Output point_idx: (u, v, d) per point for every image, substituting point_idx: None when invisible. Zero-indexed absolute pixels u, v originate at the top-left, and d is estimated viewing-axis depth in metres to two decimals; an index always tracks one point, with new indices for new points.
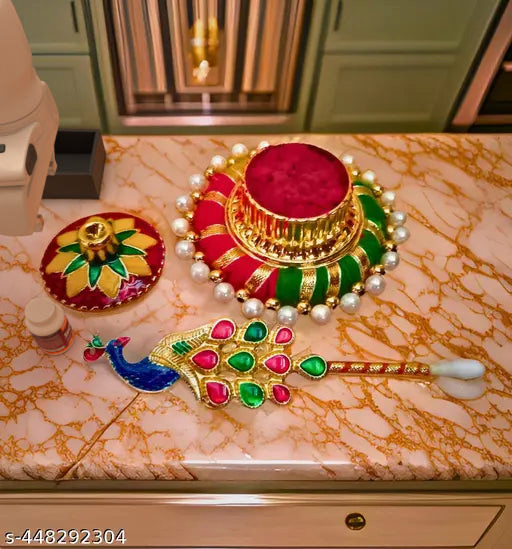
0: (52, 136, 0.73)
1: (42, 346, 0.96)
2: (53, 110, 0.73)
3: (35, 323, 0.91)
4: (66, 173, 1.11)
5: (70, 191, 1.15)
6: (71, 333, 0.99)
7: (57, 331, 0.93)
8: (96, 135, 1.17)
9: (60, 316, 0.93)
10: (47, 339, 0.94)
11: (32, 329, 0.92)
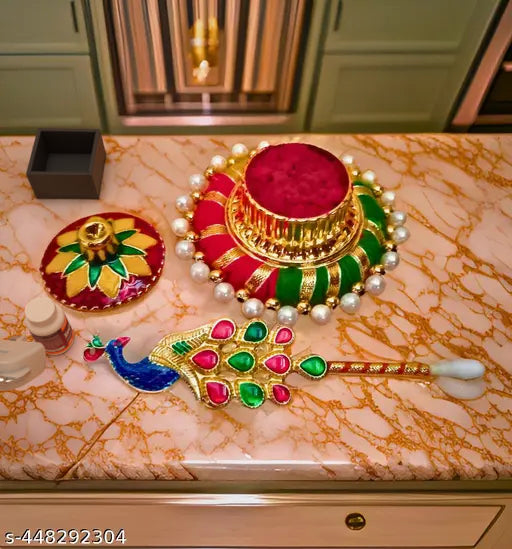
0: None
1: None
2: None
3: (35, 323, 0.91)
4: (66, 173, 1.11)
5: (70, 191, 1.15)
6: (71, 333, 0.99)
7: (57, 331, 0.93)
8: (96, 135, 1.17)
9: (60, 316, 0.93)
10: (47, 339, 0.94)
11: (32, 329, 0.92)
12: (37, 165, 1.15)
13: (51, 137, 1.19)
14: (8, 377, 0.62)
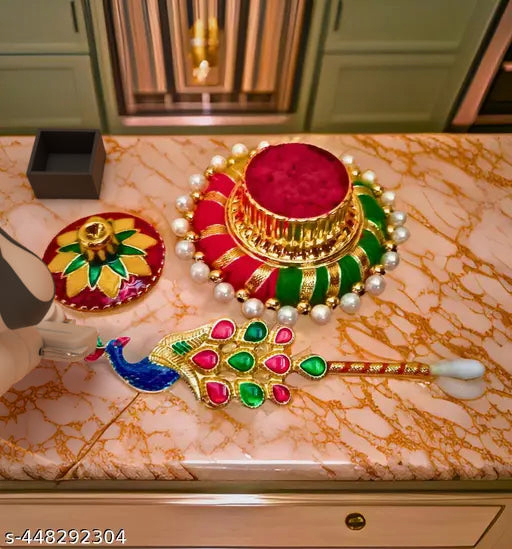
0: None
1: None
2: None
3: None
4: (66, 173, 1.11)
5: (70, 191, 1.15)
6: None
7: None
8: (96, 135, 1.17)
9: (60, 316, 0.93)
10: None
11: None
12: (37, 165, 1.15)
13: (51, 137, 1.19)
14: (73, 352, 0.83)
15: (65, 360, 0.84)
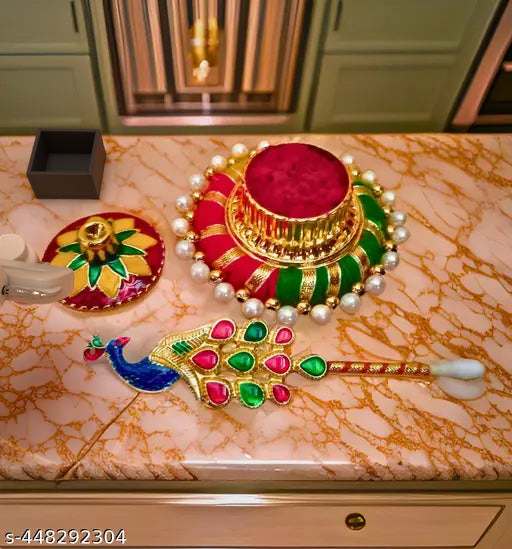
0: None
1: None
2: None
3: None
4: (66, 173, 1.11)
5: (70, 191, 1.15)
6: None
7: None
8: (96, 135, 1.17)
9: (32, 257, 0.80)
10: None
11: None
12: (37, 165, 1.15)
13: (51, 137, 1.19)
14: (43, 292, 0.70)
15: (33, 301, 0.71)
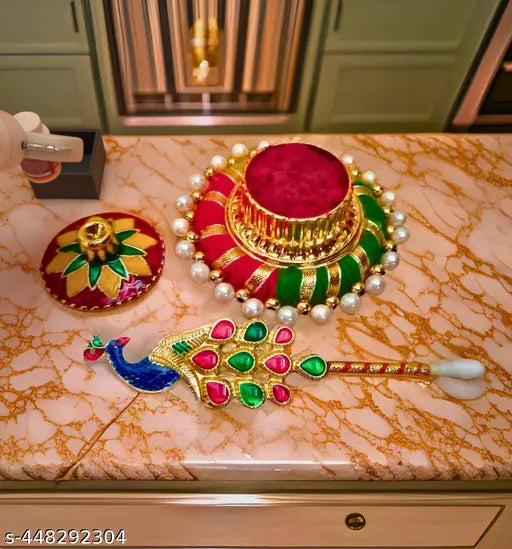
0: None
1: (27, 169, 0.94)
2: None
3: None
4: (66, 173, 1.11)
5: (70, 191, 1.15)
6: None
7: None
8: (96, 135, 1.17)
9: (46, 133, 0.91)
10: None
11: None
12: None
13: None
14: (56, 147, 0.81)
15: (48, 157, 0.82)
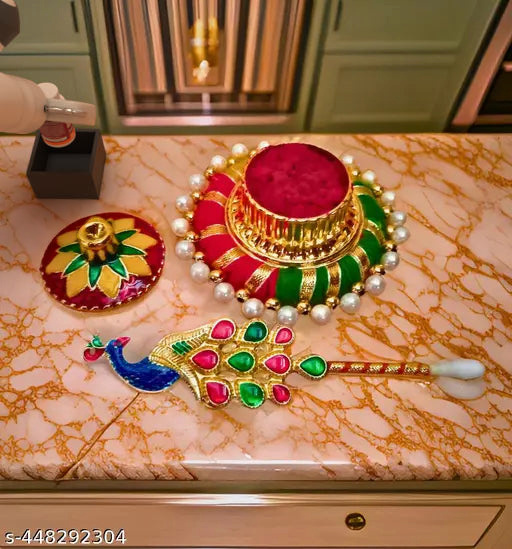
0: None
1: (46, 134, 1.07)
2: None
3: None
4: (66, 173, 1.11)
5: (70, 191, 1.15)
6: (72, 127, 1.09)
7: None
8: (96, 135, 1.17)
9: None
10: (51, 123, 1.05)
11: None
12: (37, 165, 1.15)
13: None
14: (74, 110, 0.94)
15: (66, 119, 0.95)
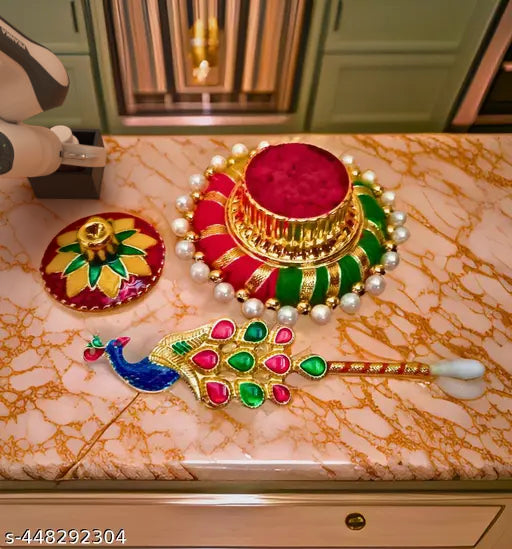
0: None
1: None
2: None
3: None
4: (66, 173, 1.11)
5: (70, 191, 1.15)
6: None
7: None
8: (96, 135, 1.17)
9: (76, 143, 1.13)
10: None
11: None
12: None
13: None
14: (87, 156, 1.03)
15: (80, 163, 1.04)
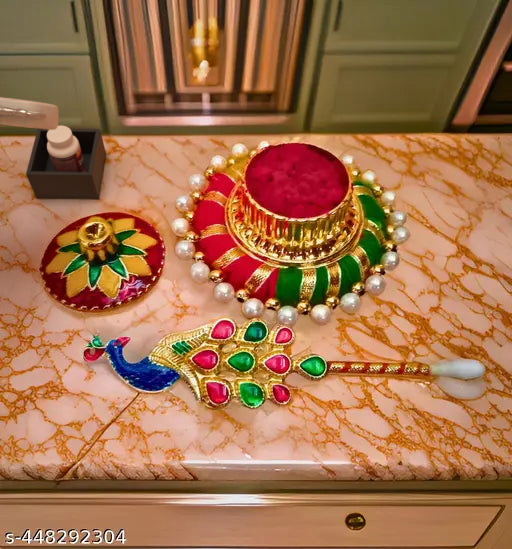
0: None
1: None
2: None
3: (55, 144, 1.10)
4: (66, 173, 1.11)
5: (70, 191, 1.15)
6: (84, 165, 1.18)
7: (73, 155, 1.13)
8: (96, 135, 1.17)
9: (76, 143, 1.13)
10: (65, 163, 1.13)
11: (52, 151, 1.11)
12: (37, 165, 1.15)
13: None
14: (29, 112, 0.79)
15: (21, 123, 0.80)
